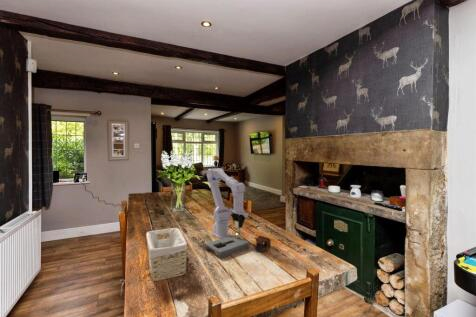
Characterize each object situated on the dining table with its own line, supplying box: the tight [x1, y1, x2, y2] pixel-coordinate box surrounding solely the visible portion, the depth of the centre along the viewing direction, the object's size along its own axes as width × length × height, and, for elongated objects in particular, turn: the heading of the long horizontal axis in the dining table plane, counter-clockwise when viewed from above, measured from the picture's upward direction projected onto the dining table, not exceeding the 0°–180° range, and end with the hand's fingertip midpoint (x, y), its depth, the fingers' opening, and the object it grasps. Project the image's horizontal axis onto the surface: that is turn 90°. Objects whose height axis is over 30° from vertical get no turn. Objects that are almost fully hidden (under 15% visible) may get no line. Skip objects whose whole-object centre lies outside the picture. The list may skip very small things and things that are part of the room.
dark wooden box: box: [253, 235, 272, 253], centre depth 132 cm, size 12×10×8 cm
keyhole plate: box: [204, 234, 249, 260], centre depth 133 cm, size 20×14×4 cm
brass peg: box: [234, 220, 244, 238], centre depth 140 cm, size 4×4×9 cm
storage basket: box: [145, 227, 188, 282], centre depth 112 cm, size 24×16×15 cm
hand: (238, 226), depth 140 cm, fingers closed on brass peg, 3 cm apart
